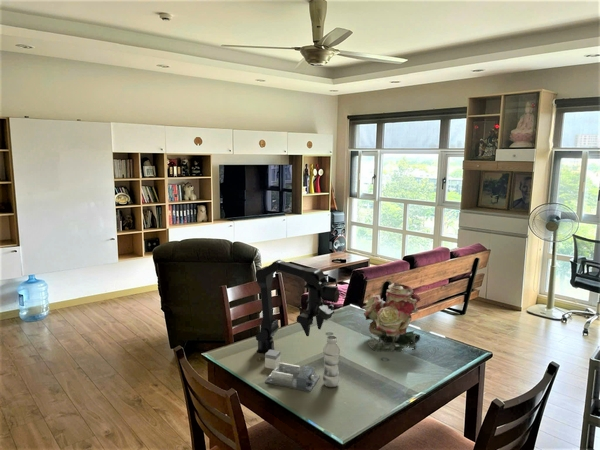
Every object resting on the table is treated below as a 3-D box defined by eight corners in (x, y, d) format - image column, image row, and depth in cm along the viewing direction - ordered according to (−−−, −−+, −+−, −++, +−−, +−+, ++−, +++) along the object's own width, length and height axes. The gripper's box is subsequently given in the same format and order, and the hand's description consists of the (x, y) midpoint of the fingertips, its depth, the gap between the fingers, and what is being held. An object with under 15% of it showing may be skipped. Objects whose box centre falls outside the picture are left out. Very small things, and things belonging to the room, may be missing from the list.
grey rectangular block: (265, 367, 188) (264, 354, 187) (269, 362, 192) (269, 349, 191) (275, 369, 186) (275, 356, 185) (280, 364, 191) (280, 351, 190)
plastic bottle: (334, 391, 169) (335, 342, 166) (319, 386, 173) (320, 338, 170) (342, 383, 175) (343, 336, 172) (327, 379, 178) (328, 332, 175)
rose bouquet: (362, 329, 228) (364, 274, 223) (420, 334, 222) (423, 277, 217) (358, 351, 203) (360, 289, 198) (423, 357, 198) (427, 294, 192)
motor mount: (265, 382, 175) (265, 372, 174) (277, 368, 186) (277, 358, 185) (310, 392, 169) (310, 381, 168) (319, 377, 180) (319, 366, 179)
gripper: (318, 309, 176) (317, 345, 178) (342, 296, 191) (340, 330, 193) (296, 302, 182) (295, 337, 185) (320, 291, 197) (319, 324, 200)
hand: (313, 332), depth 191 cm, fingers open, 9 cm apart
